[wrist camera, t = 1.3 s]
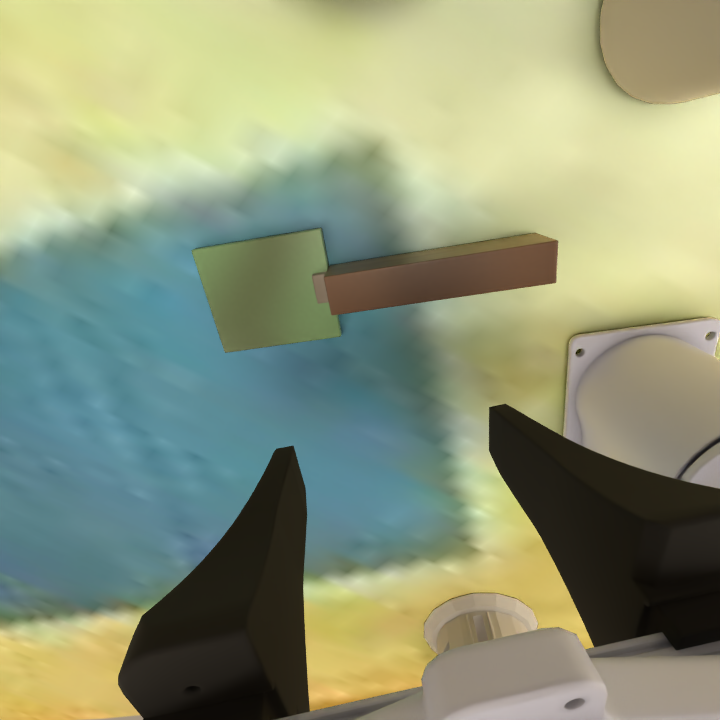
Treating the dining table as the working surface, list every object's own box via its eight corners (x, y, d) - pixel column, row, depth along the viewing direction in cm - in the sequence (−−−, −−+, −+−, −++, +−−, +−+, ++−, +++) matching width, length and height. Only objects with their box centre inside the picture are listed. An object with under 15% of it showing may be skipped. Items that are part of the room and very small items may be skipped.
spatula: (536, 191, 20) (560, 193, 17) (534, 305, 22) (555, 322, 20) (195, 248, 22) (171, 257, 19) (228, 349, 24) (210, 369, 21)
